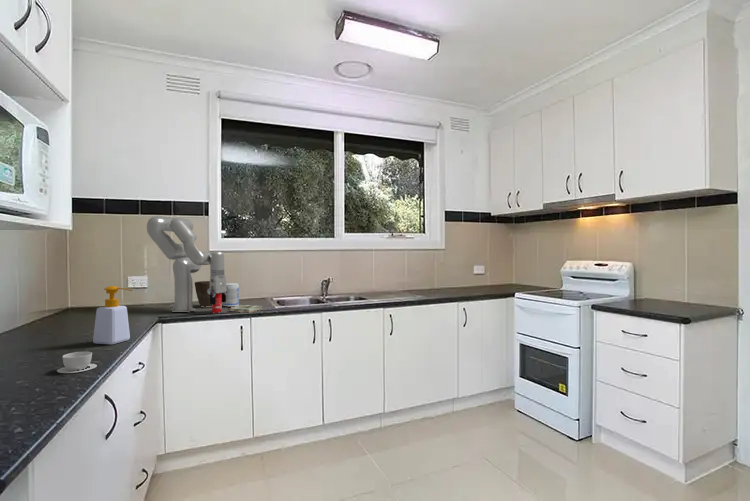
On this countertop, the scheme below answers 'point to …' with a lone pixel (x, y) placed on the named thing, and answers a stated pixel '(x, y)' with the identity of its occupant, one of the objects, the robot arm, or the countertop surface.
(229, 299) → the supplement tub
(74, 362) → the teacup
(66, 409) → the countertop surface
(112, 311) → the soap bottle
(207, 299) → the plant pot
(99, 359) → the countertop surface
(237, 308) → the base plate
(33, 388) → the countertop surface
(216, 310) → the beverage can
